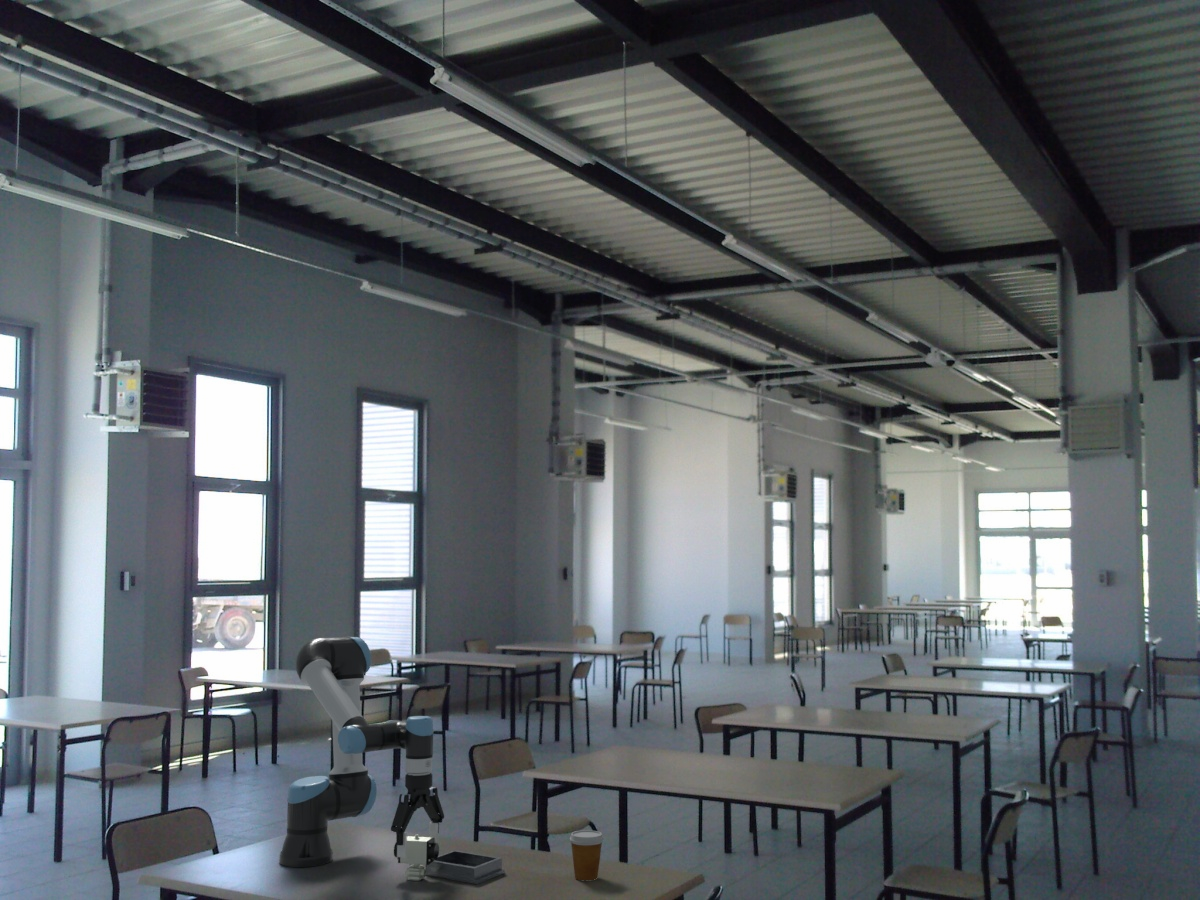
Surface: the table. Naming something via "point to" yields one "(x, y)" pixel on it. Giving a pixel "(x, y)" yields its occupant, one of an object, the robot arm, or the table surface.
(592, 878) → the disposable coffee cup
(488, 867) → the rectangular open-top bin
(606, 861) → the table surface
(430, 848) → the pneumatic valve
